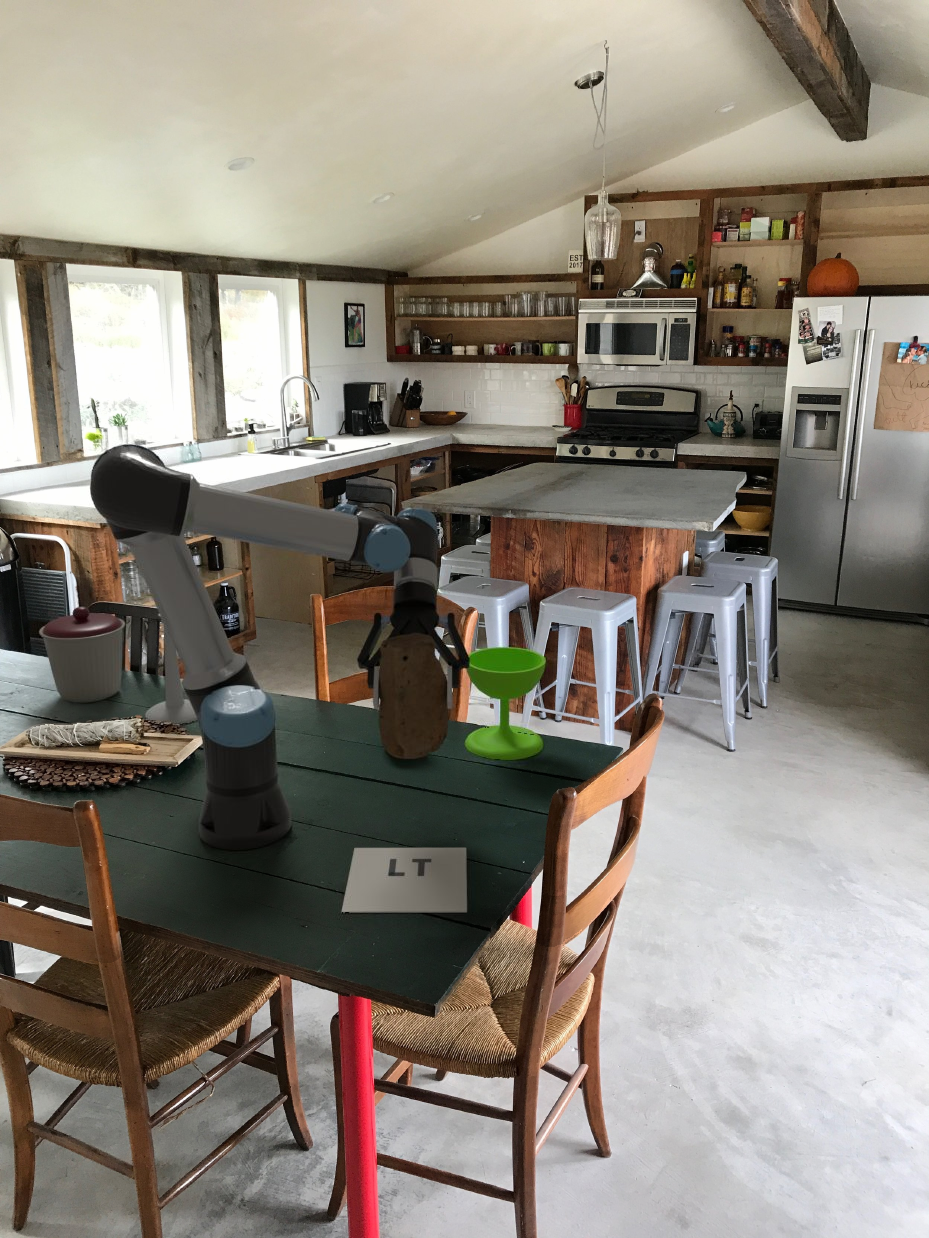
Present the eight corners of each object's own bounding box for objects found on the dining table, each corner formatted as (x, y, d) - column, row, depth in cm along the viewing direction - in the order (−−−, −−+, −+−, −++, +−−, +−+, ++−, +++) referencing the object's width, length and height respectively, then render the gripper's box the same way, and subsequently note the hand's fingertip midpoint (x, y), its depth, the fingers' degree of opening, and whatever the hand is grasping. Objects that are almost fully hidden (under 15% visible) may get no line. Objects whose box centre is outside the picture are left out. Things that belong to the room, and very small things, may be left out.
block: (396, 765, 158) (393, 648, 153) (376, 748, 165) (373, 636, 159) (453, 750, 164) (453, 638, 158) (432, 735, 170) (431, 626, 164)
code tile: (341, 912, 140) (341, 911, 139) (354, 849, 157) (354, 847, 157) (466, 912, 140) (466, 910, 140) (466, 848, 157) (466, 847, 157)
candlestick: (133, 723, 208) (119, 587, 199) (164, 702, 220) (152, 572, 211) (188, 728, 205) (176, 590, 197) (216, 706, 217) (206, 575, 209)
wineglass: (492, 722, 208) (493, 642, 203) (558, 739, 199) (560, 656, 194) (449, 747, 195) (448, 662, 190) (517, 767, 187) (518, 678, 182)
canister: (140, 680, 233) (132, 596, 227) (119, 708, 216) (109, 617, 210) (63, 682, 232) (52, 597, 226) (36, 710, 214) (23, 619, 209)
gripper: (483, 600, 173) (484, 714, 162) (349, 601, 173) (342, 714, 162) (483, 578, 166) (485, 695, 156) (344, 579, 166) (337, 696, 156)
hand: (412, 705), depth 159 cm, fingers closed on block, 11 cm apart
